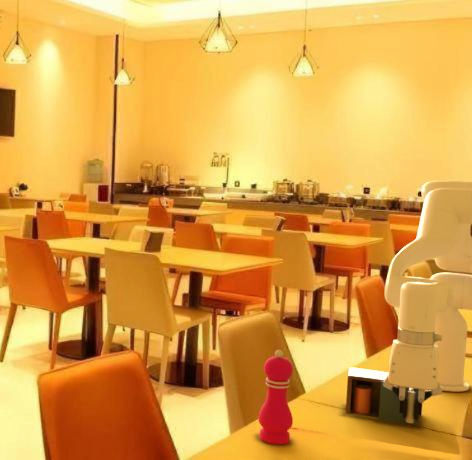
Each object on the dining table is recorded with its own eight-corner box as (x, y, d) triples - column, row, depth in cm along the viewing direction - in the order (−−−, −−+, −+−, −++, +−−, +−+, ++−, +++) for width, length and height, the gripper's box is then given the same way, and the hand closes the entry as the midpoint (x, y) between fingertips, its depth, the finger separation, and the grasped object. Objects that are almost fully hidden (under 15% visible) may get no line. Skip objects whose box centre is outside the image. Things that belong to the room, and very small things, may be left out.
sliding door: (378, 419, 180) (381, 380, 179) (416, 425, 177) (419, 385, 176) (377, 428, 174) (380, 387, 173) (417, 434, 171) (420, 393, 170)
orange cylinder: (353, 407, 187) (354, 383, 187) (370, 409, 186) (372, 386, 185) (352, 412, 184) (354, 387, 183) (370, 414, 182) (371, 390, 182)
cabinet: (347, 406, 191) (349, 367, 190) (417, 416, 184) (420, 376, 183) (345, 415, 184) (347, 375, 183) (418, 426, 177) (421, 384, 176)
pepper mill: (293, 447, 162) (298, 355, 160) (258, 443, 164) (263, 352, 162) (289, 435, 169) (294, 347, 167) (256, 432, 171) (261, 344, 169)
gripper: (454, 338, 170) (448, 418, 172) (378, 330, 177) (372, 407, 178) (456, 345, 163) (450, 428, 165) (377, 336, 170) (371, 416, 171)
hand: (410, 416), depth 172 cm, fingers closed
